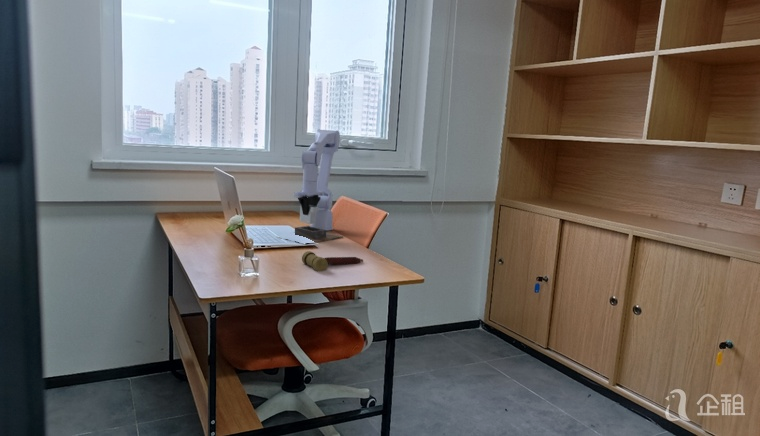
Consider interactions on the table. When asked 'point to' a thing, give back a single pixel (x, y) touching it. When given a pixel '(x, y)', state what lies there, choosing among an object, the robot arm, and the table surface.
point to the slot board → (315, 234)
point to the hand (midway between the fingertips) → (308, 214)
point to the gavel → (327, 261)
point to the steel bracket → (309, 214)
